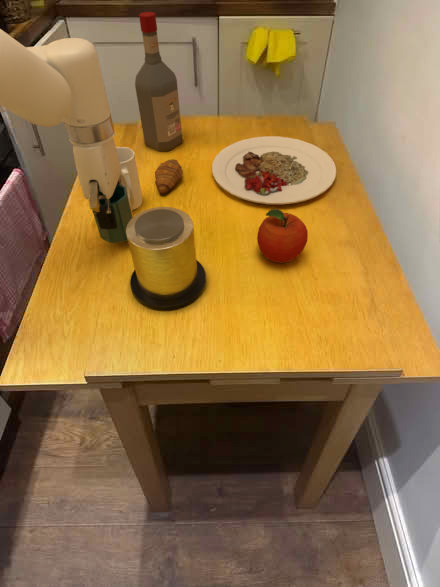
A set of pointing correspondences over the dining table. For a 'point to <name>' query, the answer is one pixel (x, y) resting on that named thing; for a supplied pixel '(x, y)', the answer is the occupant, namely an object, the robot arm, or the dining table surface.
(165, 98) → the liquor
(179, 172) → the croissant
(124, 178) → the mug
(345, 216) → the dining table surface
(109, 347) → the dining table surface
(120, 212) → the teal cup
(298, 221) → the fruit
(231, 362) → the dining table surface
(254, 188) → the plated food
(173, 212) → the towel holder
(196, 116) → the dining table surface
